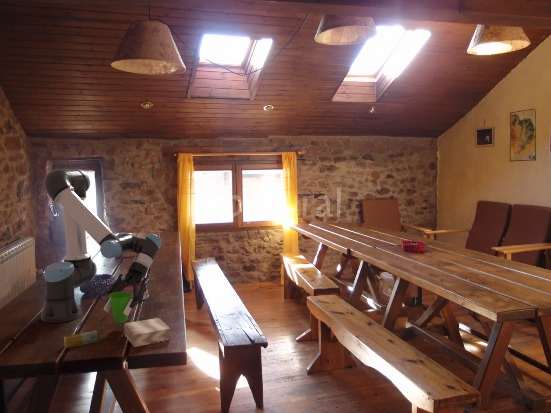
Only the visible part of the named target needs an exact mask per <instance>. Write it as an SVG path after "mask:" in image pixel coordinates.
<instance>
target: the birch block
mask: <svg viewBox="0 0 551 413" xmlns="http://www.w3.org/2000/svg"><path fill="white" fill-rule="evenodd" d="M123 330H124V333H123V334H125V335H124V337H125V338H126V337H127V338H128V339H127V338H126V339H127V340H128V341H129V342H130V344H131V345H132V346H133V347H134V348H135V347H142V346H145V345H150V344H151V343H152V344H157V343H161V342H160V341H162V342H165V341H164V340H167V341H169V340H168V339H170V340H171V327H170V326H168V325H167V324H166V323H165V322H164V320H162V319H161V318H159V317H154V318H150V319H149V318H148V319H143V320H138V321H131V322H123ZM156 342H157V343H156ZM152 344H151V345H152Z"/></svg>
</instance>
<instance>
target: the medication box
mask: <svg viewBox="0 0 551 413" xmlns="http://www.w3.org/2000/svg"><path fill="white" fill-rule="evenodd" d="M99 336H100V334H99V331H98V330H97V329H96V330H90V331H86V332H81V333H75V334H70V335H65V336H63V340H64V342H63V344H64V345H63V346H64V348H65V349H68V348H69V349H70V348H74V347H78V346H84V345H89V344H92V343H97V342H98V343H99V342H100V340H99Z"/></svg>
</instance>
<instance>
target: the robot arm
mask: <svg viewBox="0 0 551 413" xmlns="http://www.w3.org/2000/svg"><path fill="white" fill-rule="evenodd" d="M90 187H91V180H90V177H89V175H88V174H87V173H86V172H85V171H84V170H82V169H79V168H55V169H52V170H50V171H48V173H46V175H45V176H44V179H43V188H44V190H45V193H46V194H47V195H48V197H49V198H50V199H51V200H52V201H53V202H54V203H55V204H57V205H60V206H61V207H62V211H63V212H62V213H63V220H64V221H63V222H64V234H65V235H64V236H65V247H66V254H65V256H64V258H63V261H59V262H55V263H52V264H49V265H47V266H46V267H45V268H44V272H43V273H44V276H43V280H44V304H43V308H42V311H41V313H40V321H42V322H43V323H46V324H47V323H50V324H56V323H58V324H59V323H66V322H70V321H73V320H76V319H77V318H78V317H79V316H80V309H79V307H78V304H77V302H76V299H75V289H77V288H80V287H81V286H85V285H88V284H89V283H91V282H92V281H93V280H94V279H95V277H96V276H97V272H98V268H97V265H96V262H94V260H93V259H92V255H91V254H89V253H88V248H87V236H86V233H87V235H89V236H90V237H91V238H92V239H93V240H94V241H95V242H96V243H97V244H98V245H99V248H100V250H99V251H100V253H101V255H102V257H104V258H106V259H113V258H117V257H119V256H122V255H124V254H127V253H130V252H131V253H133V254H136V255H135V256H134V258H133V260H132V263H130V266H129V268H128V269H127V270H128V271H127V272H126V274H122V273H119V275H118V277H117V279H116V280H115V281H114V282H113V284H112V285H111V286H110V287H109V289H108V290H107V291H106V293H107V294H108V298H107V299H106V301H105V302H106V303H105V305H104V307H103V310H104V312H106V313H107V314H108V313H109V311H111V310H110V309H112V305H111V299H110V297H109V295H110V294H111V293H114V292H121V291H122V290H123V289H124V288H125V287H128V286H129V285H130V286H131V285H132V286H133V297H132V298H133V299H130V301H129V303H128V305H127V306H126V308H125V310H124V312H123V313H124V314H125V315H126V316H128V317H129V315H130V312H131V311H132V309H134V308H135V305H137V303H138V302H137V301H141V302H143V301H142V300H143V296H144V292H145V289H146V286H147V285H148V284H149V282H150V281H149V279H148V278H147V277H146V275H147V274H148V271H149V269H150V268H151V265H152V263H153V262H154V260H155V257H156V255H157V254H158V252H159V251H160V248H161V246H162V243H163V241H162V238H161V237H160V236H159V235H157V234H154V233H148V234H147V235H146V236H145V237H144V236H138V235H134V234H131V233H128V232H119V233H118V234H117V235H116V234H115V233H114V232H113V231H112V230H111V229H110V228H109V227H108V226H107V225H106V224H105V223H104V222H103V221H102V219H100V218H99V216H98V215H96V213H95V212H93V210H92V209H91V208H90V207H89V206H88V205H87V204H86V203H85V202H84V201H85V200H86V198H87V192H88V190H89V189H90ZM125 282H126V283H127V284H126V283H125ZM140 282H141V286H140V289H139V293H138V288H139V283H140Z"/></svg>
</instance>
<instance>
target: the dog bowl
mask: <svg viewBox="0 0 551 413" xmlns="http://www.w3.org/2000/svg"><path fill="white" fill-rule="evenodd" d="M125 283H126V282H125ZM126 284H127V283H126ZM140 286H141V282H140V283H139V288H138V293H139V289H140ZM121 292H130V293H132V296H131V299H133V298H132V297H133V286H132V285H131V286H130V285H129V286H128V287H125V288H124V289H123V290H122V291H121ZM149 298H150V295H149V291H148V286H147V285H146V289H145V292H144V296H143V300H142V301H139V302H144V301H146V300H148V299H149ZM139 302H138V303H139Z"/></svg>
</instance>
